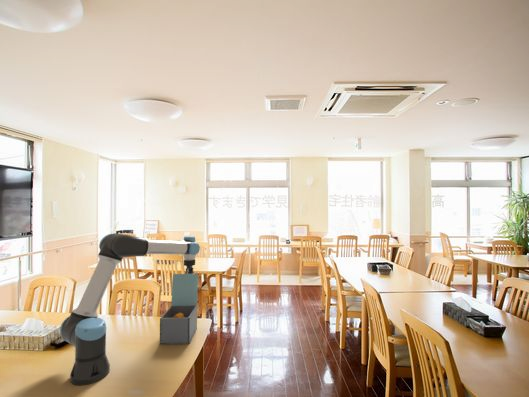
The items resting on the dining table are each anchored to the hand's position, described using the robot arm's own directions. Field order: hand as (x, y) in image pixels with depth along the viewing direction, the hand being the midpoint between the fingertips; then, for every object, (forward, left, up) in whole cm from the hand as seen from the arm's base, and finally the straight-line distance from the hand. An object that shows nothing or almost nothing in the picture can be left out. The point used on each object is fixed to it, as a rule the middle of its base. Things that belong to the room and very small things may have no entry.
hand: (189, 294), depth 188 cm
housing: (-24, 0, -16) cm, 29 cm away
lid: (-12, 0, +7) cm, 14 cm away
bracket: (-24, 0, -16) cm, 29 cm away
